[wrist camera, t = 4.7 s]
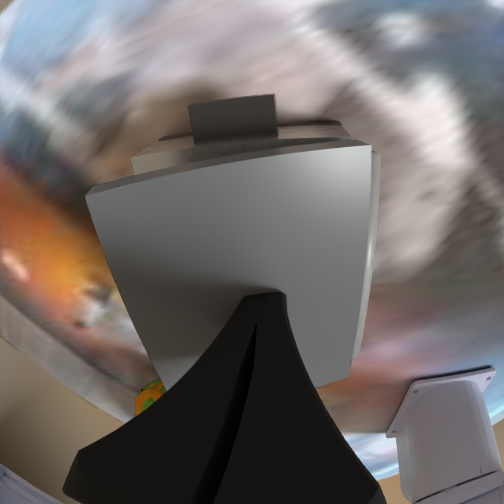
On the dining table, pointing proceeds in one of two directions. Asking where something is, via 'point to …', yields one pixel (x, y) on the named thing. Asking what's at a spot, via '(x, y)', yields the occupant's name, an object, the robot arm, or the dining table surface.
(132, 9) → the dining table surface
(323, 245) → the lid
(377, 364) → the dining table surface
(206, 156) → the cooker
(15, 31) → the dining table surface
